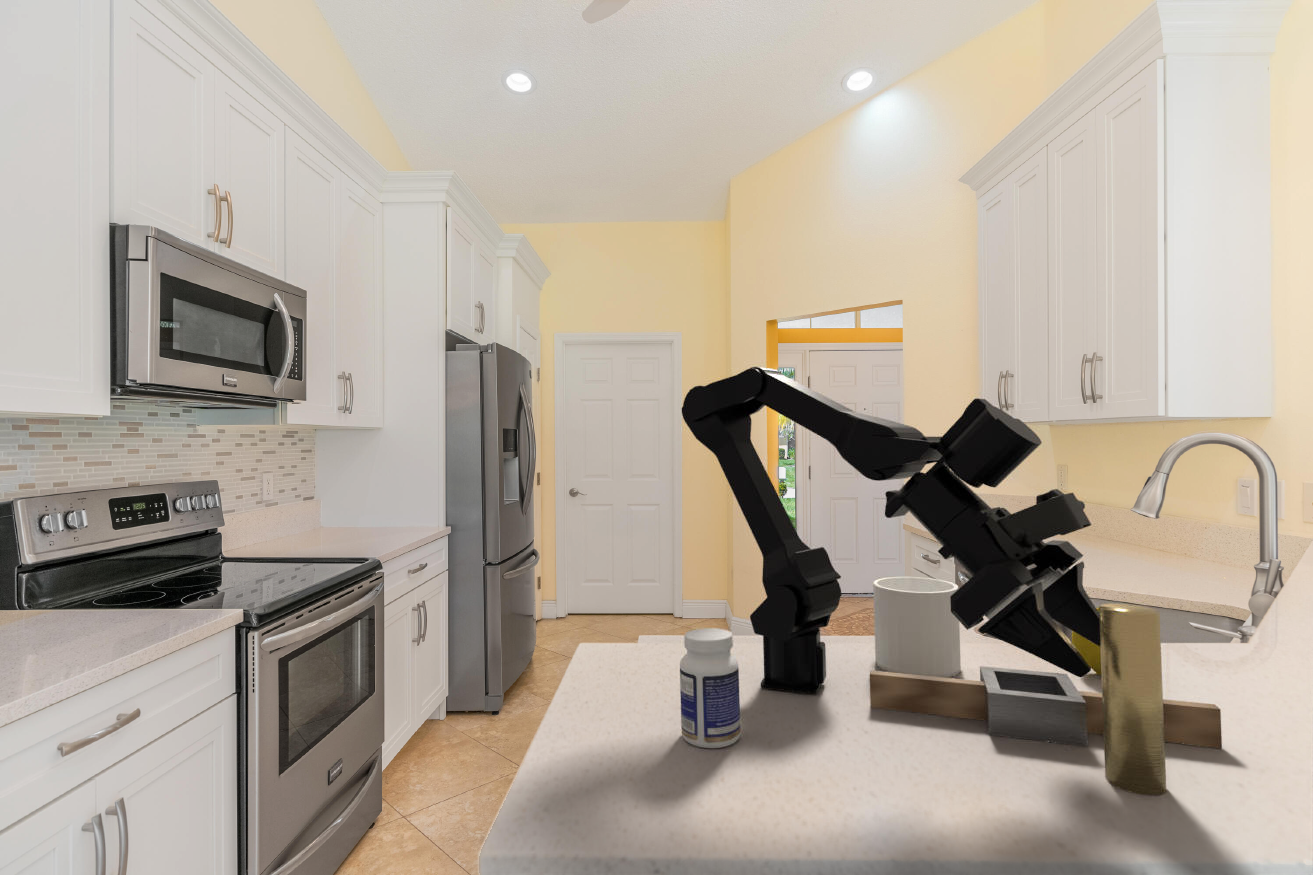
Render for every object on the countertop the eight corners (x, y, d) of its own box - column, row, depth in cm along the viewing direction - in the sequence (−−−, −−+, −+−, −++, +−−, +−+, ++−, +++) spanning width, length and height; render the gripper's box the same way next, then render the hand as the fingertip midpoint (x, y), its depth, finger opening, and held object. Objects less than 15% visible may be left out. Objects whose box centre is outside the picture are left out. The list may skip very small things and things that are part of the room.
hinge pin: (1113, 790, 52) (1106, 613, 52) (1099, 767, 55) (1093, 602, 56) (1174, 799, 50) (1167, 616, 50) (1156, 774, 54) (1149, 605, 54)
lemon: (1138, 684, 74) (1136, 613, 74) (1084, 681, 75) (1082, 612, 75) (1114, 668, 79) (1112, 602, 80) (1064, 666, 81) (1062, 601, 81)
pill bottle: (746, 728, 64) (743, 627, 65) (733, 754, 59) (731, 644, 59) (690, 721, 66) (688, 623, 67) (673, 745, 61) (671, 639, 61)
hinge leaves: (870, 706, 69) (869, 673, 69) (871, 702, 70) (870, 670, 70) (1222, 748, 58) (1220, 709, 58) (1216, 742, 59) (1214, 704, 59)
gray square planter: (989, 734, 62) (988, 692, 62) (981, 703, 69) (979, 665, 69) (1087, 746, 59) (1086, 702, 59) (1068, 713, 66) (1066, 673, 67)
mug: (979, 674, 78) (976, 589, 78) (907, 683, 76) (904, 595, 76) (914, 645, 90) (912, 571, 91) (849, 652, 88) (847, 576, 88)
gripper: (983, 464, 52) (1162, 625, 44) (1053, 459, 65) (1202, 583, 57) (894, 553, 58) (1037, 711, 49) (975, 532, 71) (1100, 655, 62)
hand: (1101, 660), depth 54 cm, fingers open, 9 cm apart
